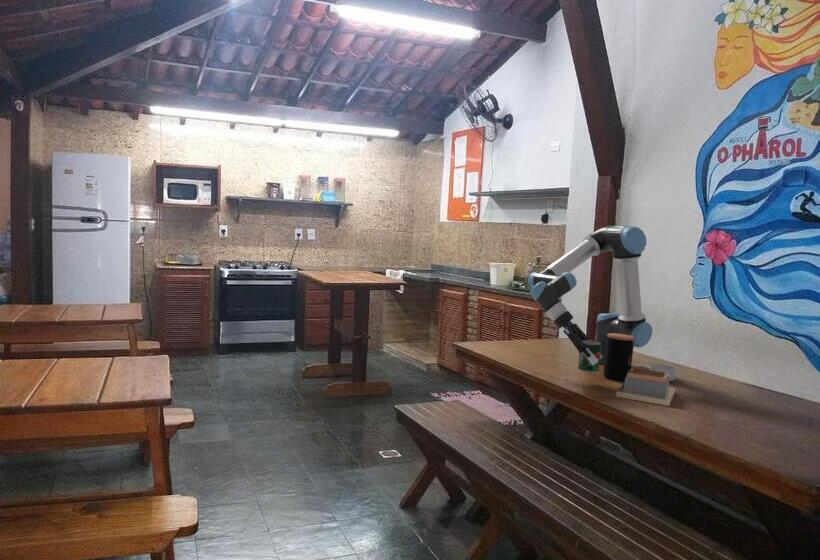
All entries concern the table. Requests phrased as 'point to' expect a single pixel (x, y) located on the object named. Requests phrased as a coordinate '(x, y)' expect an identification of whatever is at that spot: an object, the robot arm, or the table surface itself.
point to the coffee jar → (618, 356)
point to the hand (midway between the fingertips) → (597, 361)
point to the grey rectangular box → (647, 386)
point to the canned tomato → (584, 362)
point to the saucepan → (661, 369)
